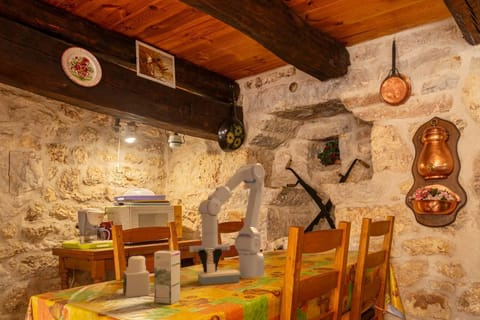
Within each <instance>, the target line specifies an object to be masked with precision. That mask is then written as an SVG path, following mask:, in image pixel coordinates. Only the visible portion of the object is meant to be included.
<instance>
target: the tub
mask: <svg viewBox="0 0 480 320" xmlns="http://www.w3.org/2000/svg"><path fill="white" fill-rule="evenodd" d="M197 282H199V283H200V284H201V285H202V286H204V287H205V286H211V285H212V286H215V285H226V284H234V283H235V284H236V283H237V284H238V283H240V277H239V275H227V276H215V277H201V276H200V275H199V274H197Z"/></svg>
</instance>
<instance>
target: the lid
mask: <svg viewBox="0 0 480 320" xmlns="http://www.w3.org/2000/svg"><path fill="white" fill-rule="evenodd" d="M196 274H197V275H198V274H199V275H200V276H201V277H215V276H227V275H240V272H239V270H237V269H235V268H232V267H231V268H220V269H219V268H217V271H216V272H215V263H213V262H207V272H204V271H203V270H196Z"/></svg>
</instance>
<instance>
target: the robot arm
mask: <svg viewBox="0 0 480 320" xmlns="http://www.w3.org/2000/svg"><path fill="white" fill-rule="evenodd" d="M265 175H266V171H265V168H264V167H263V165H262V164H261V163H258V162H257V163H254V164H253V163H252V164H247V165H246V164H242V165H240V167H239V168H237V169H235V173H234V174H233V175H232V176H231V177H230V179H229V180H228V181H227V182H226V183H225V184H224V185H219V186H216V187H215V188H214V189H215V190H214V191H213V193H211V194H210V195H208V196H207V199H204V200H202V201H201V202H200V204H199V207H198V208H197V210H198V213H199V214H200V219H201V244H200V245H189V246H188V248H189V253H194V252H197V255H198V257H199V259H200V261H201V265H202V269H203V271H204V272H207V263H208V262H207V261H208V260H207V258H208V253H207V252H209V251H210V252H211V251H212V258H213V259H212V260H213V261H212V263H215V272H216V271H217V269H218V265H219V263H220V259H221V257H222V255H223V251H230V249H231V245H230V244H229V243H221V244H219V243H218V242H219V241H218V240H219V239H218V237H219V236H218V235H219V233H218V229H219V228H218V214H220V212H221V210H222V207H223V205H224V204H225V203H226V202H227V201H228V200H229V199H230V198H231V196H232V194H231V193H232V191H234V189H236V188H237V187H238V186H239V185H240V184H241V183H242V182H243V183H244V184H245V185H246V187H248V188H249V195H248V200H247V206H246V212H245V216H244V223H243V227H242V228H241V229H240V230H239V231H238V232H237V236H236V238H235V239H234V247H235V250H236V251H237V253H238V271H239V272H240V275H239V278H242V279H247V278H258V277H265V276H266V275H265V258H264V254H263V253H262V252H260V250H261V247H262V241H261V240H262V239H261V238H262V234H261V233H260V232H259V231H258V225H259V221H260V214H261V208H262V202H263V198H264V191H265Z"/></svg>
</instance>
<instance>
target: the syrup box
mask: <svg viewBox="0 0 480 320" xmlns="http://www.w3.org/2000/svg"><path fill="white" fill-rule="evenodd" d="M153 254H154V257H153V258H154V259H153V260H154V262H153V263H154V265H153V267H154V269H153V270H154V271H153V273H154V275H153V277H154V278H153V279H154V280H153V281H154V282H153V283H154V284H153V286H154V291H153V293H154V294H153V295H154V297H153V298H154V299H153V301H154V302H153V303H154V304H161V305H173V304H175V303H177V302H180V301H181V250H173V249H172V250H165V249H164V250H162V249H161V250H157V251H155V252H153Z"/></svg>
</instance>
